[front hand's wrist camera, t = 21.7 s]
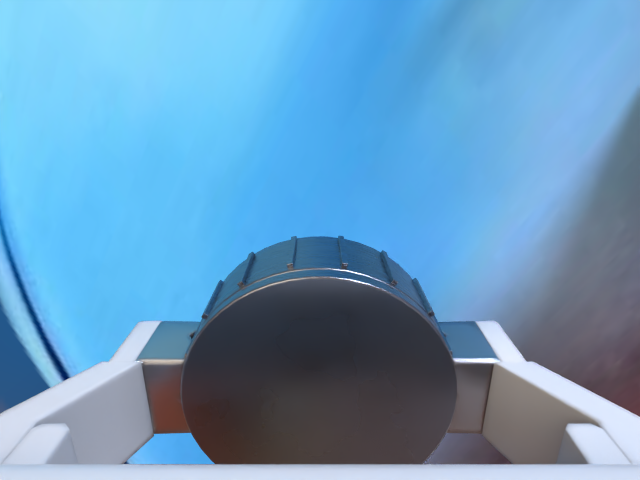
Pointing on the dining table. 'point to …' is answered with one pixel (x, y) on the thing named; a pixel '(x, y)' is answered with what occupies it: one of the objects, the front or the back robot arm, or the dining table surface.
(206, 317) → the lid
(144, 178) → the dining table surface
